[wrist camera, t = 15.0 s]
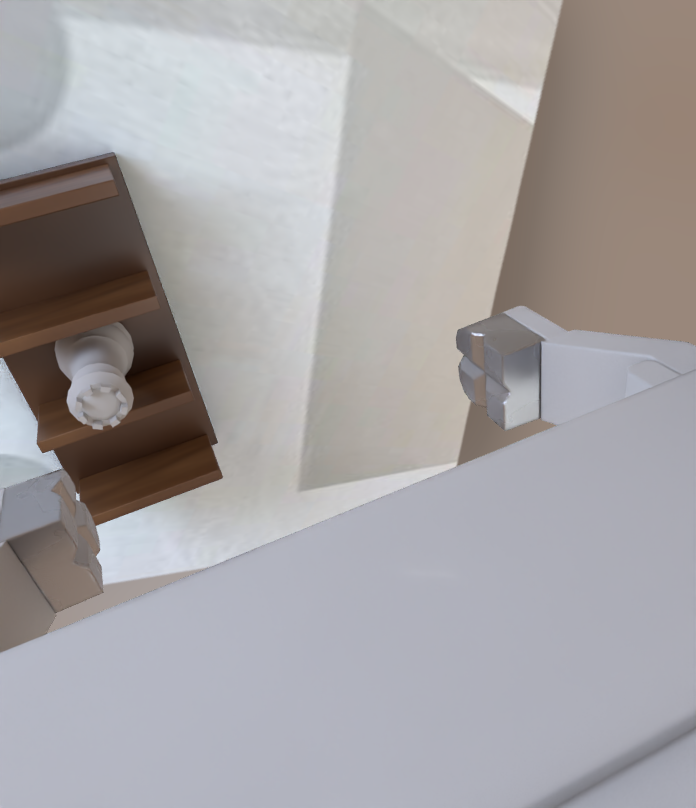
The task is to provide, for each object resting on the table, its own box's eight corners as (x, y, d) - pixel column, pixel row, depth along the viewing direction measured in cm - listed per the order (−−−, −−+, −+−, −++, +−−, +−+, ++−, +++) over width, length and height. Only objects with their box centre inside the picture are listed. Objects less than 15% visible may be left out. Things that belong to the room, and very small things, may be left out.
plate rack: (-78, 199, 33) (-100, 226, 28) (113, 151, 35) (122, 170, 31) (77, 484, 44) (79, 536, 40) (214, 434, 46) (232, 479, 42)
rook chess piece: (144, 326, 39) (161, 384, 33) (116, 387, 41) (127, 454, 34) (70, 299, 37) (72, 356, 31) (43, 365, 38) (40, 433, 32)
